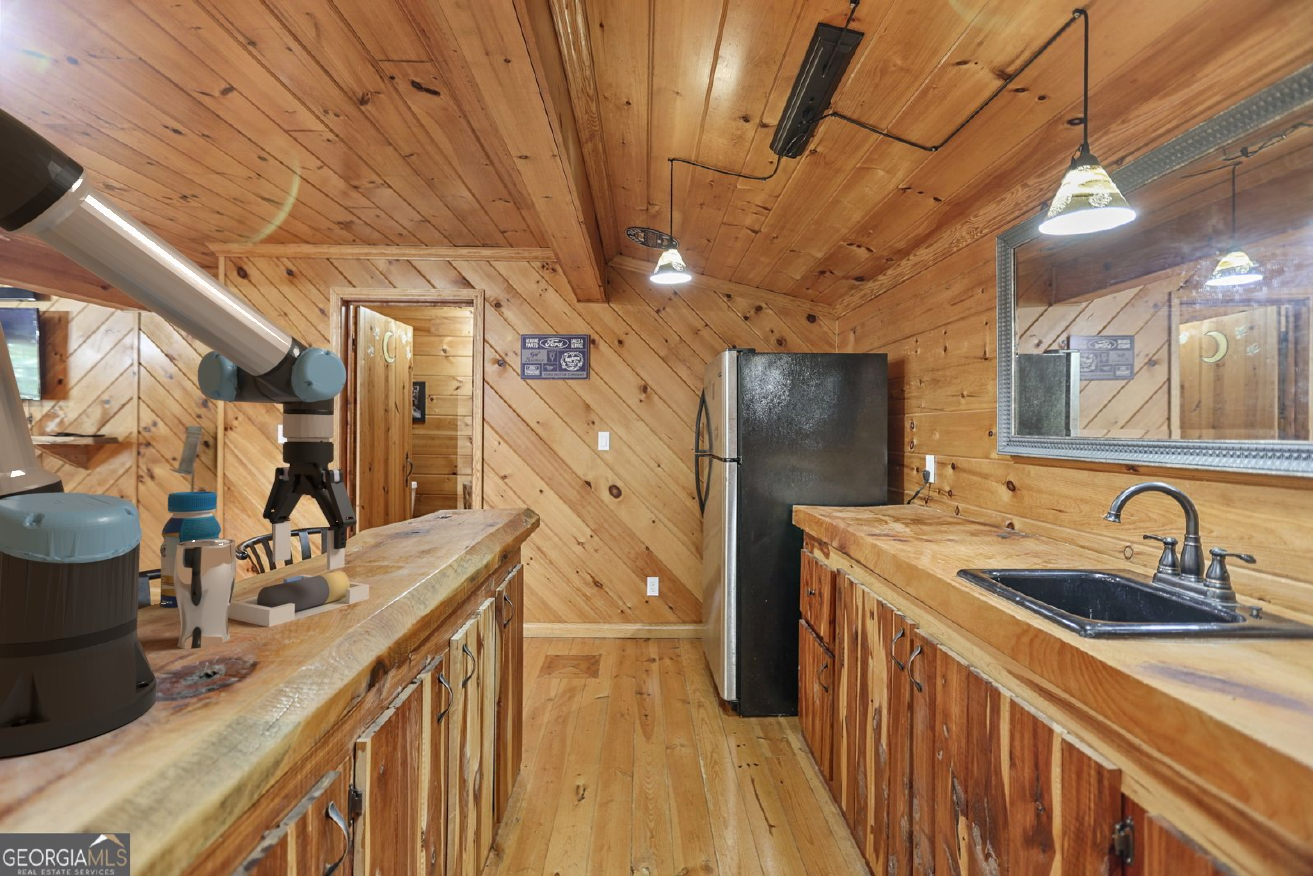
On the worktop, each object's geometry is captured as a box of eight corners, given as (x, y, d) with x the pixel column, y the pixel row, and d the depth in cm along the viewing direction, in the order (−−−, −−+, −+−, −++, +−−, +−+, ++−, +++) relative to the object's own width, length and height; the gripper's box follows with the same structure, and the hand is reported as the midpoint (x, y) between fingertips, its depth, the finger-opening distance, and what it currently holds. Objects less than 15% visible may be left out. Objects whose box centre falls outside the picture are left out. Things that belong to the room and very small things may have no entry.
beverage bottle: (205, 612, 99) (208, 494, 99) (147, 615, 97) (149, 495, 97) (229, 599, 107) (231, 490, 107) (176, 601, 105) (178, 490, 105)
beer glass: (246, 641, 86) (248, 539, 86) (205, 658, 79) (207, 547, 79) (203, 638, 86) (205, 537, 86) (158, 655, 79) (161, 545, 79)
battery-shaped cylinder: (276, 621, 92) (278, 589, 92) (256, 615, 94) (257, 584, 94) (349, 601, 104) (350, 573, 104) (329, 596, 106) (330, 569, 106)
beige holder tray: (269, 633, 89) (269, 610, 89) (199, 617, 96) (200, 596, 96) (368, 604, 106) (369, 584, 106) (303, 592, 113) (304, 574, 113)
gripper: (380, 441, 98) (379, 567, 98) (282, 439, 108) (281, 553, 108) (340, 441, 91) (339, 576, 91) (239, 439, 101) (238, 561, 101)
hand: (307, 564), depth 99 cm, fingers open, 13 cm apart
